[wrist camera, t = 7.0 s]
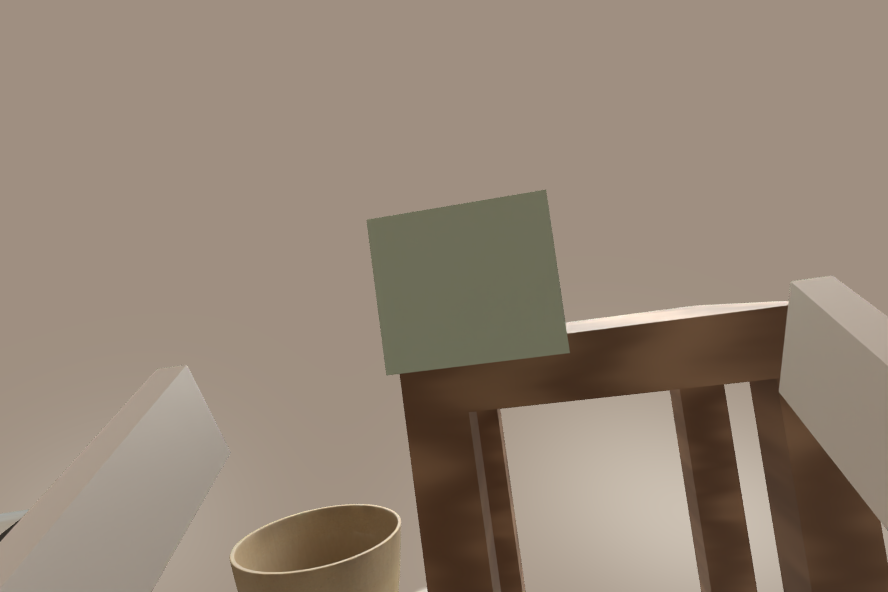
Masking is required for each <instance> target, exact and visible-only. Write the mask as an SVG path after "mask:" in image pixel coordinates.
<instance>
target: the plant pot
mask: <svg viewBox="0 0 888 592" xmlns="http://www.w3.org/2000/svg"><path fill="white" fill-rule="evenodd" d="M400 547H401V519H400V516H399V515H398V514H397V513H396V512H394V511H392V510H391V509H388V508H385V507H382V506H376V505H368V504H347V505H336V506H329V507H323V508H318V509H313V510H309V511H305V512H301V513H298V514H295V515H291V516H288V517H285V518H283V519H280V520H277V521H275V522H272V523H270V524H267V525H265V526H263V527H261V528H259V529H257V530H255V531H253V532H252V533H250V534H249V535H247V536H246V537H244V538H243V539H242V540H241V541H239V542H238V543H237V544H236V545H235V547H234V548H233V549H232V551H231V553H230V557H229V558H230V563H231V567H232V571H233V575H234V579H235V582H236V586H237V590H238V592H398V590H399V576H400Z"/></svg>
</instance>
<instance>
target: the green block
mask: <svg viewBox="0 0 888 592" xmlns="http://www.w3.org/2000/svg"><path fill="white" fill-rule="evenodd" d="M367 227H368V235H369V243H370V251H371V258H372V266H373V274H374V282H375V290H376V297H377V305H378V313H379V321H380V328H381V336H382V344H383V352H384V360H385V368H386V375H393V374H402V373H410V372H418V371H426V370H435V369H443V368H451V367H459V366H467V365H475V364H484V363H492V362H500V361H508V360H516V359H524V358H533V357H541V356H549V355H557V354H565V353H570V350H569V344H568V337H567V330H566V323H565V317H564V310H563V303H562V296H561V289H560V282H559V275H558V269H557V262H556V255H555V248H554V241H553V234H552V228H551V221H550V214H549V207H548V200H547V193H546V190H541V191H535V192H530V193H524V194H518V195H512V196H506V197H500V198H494V199H488V200H482V201H476V202H471V203H464V204H458V205H453V206H446V207H441V208H435V209H429V210H423V211H417V212H411V213H405V214H399V215H393V216H387V217H382V218H375V219H369V220H367Z"/></svg>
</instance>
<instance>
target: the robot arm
mask: <svg viewBox="0 0 888 592" xmlns="http://www.w3.org/2000/svg"><path fill="white" fill-rule="evenodd" d="M779 393H780V394H781V395H782V397H783V398H784V399H785V400H786V402H787V403H788V404H789V405H790V407H791V408H792V409H793V411H794V412H795V413H796V414H797V416H798V417H799V418H800V419H801V421H802V422H803V423H804V425H805V426H806V427H807V428H808V430H809V431H810V432H811V434H812V435H813V436H814V437H815V439H816V440H817V441H818V442H819V444H820V445H821V446H822V448H823V449H824V450H825V451H826V453H827V454H828V455H829V456H830V458H831V459H832V460H833V462H834V463H835V464H836V465H837V467H838V468H839V469H840V471H841V472H842V473H843V474H844V476H845V477H846V478H847V479H848V481H849V482H850V483H851V485H852V486H853V487H854V488H855V490H856V491H857V492H858V493H859V495H860V496H861V497H862V499H863V500H864V501H865V502H866V504H867V505H868V506H869V507H870V509H871V510H872V511H873V513H874V514H875V515H876V516H877V518H878V519H879V520H880V522H881V523H882V524H883V525H884V527H885V528H886V529H887V530H888V317H887V316H886V315H885V314H883V313H882V312H881V311H879V310H878V309H877V308H875V307H874V306H873V305H871V304H870V303H869V302H867V301H866V300H865V299H863V298H862V297H861V296H859V295H858V294H857V293H855V292H854V291H853V290H851V289H850V288H849V287H847V286H846V285H845V284H843V283H842V282H841V281H839V280H838V279H837V278H835V277H834V276H826V277H819V278H811V279H804V280H797V281H791V284H790V293H789V302H788V311H787V320H786V329H785V339H784V348H783V357H782V366H781V375H780V384H779ZM230 453H231V452H230V450H229V448H228V446H227V444H226V442H225V440H224V438H223V436H222V434H221V432H220V430H219V428H218V426H217V424H216V422H215V420H214V418H213V416H212V414H211V412H210V410H209V408H208V406H207V404H206V402H205V400H204V398H203V396H202V394H201V392H200V390H199V388H198V386H197V384H196V382H195V380H194V378H193V376H192V374H191V372H190V370H189V368H188V366H187V365H181V366H173V367H166V368H159V369H156V371H155V372H154V373H153V374H152V375H151V376H150V377H149V378H148V379H147V381H146V382H145V383H144V384H143V385H142V386H141V387H140V388H139V389H138V390H137V392H136V393H135V394H134V395H133V396H132V397H131V398H130V399H129V400H128V402H127V403H126V404H125V405H124V406H123V407H122V408H121V409H120V410H119V412H117V414H116V415H115V416H114V417H113V418H112V419H111V420H110V421H109V422H108V424H107V425H106V426H105V427H104V428H103V429H102V430H101V431H100V433H98V435H97V436H96V437H95V438H94V439H93V440H92V441H91V442H90V443H89V444H88V446H87V447H86V448H85V449H84V450H83V451H82V452H81V453H80V454H79V455H78V457H77V458H76V459H75V460H74V461H73V462H72V463H71V464H70V465H69V467H68V468H67V469H66V470H65V471H64V472H63V473H62V474H61V475H60V477H59V478H58V479H57V480H56V481H55V482H54V483H53V484H52V485H51V486H50V487H49V489H48V490H47V491H46V492H45V493H44V494H43V495H42V496H41V498H40V499H39V500H38V501H37V502H36V503H35V504H34V505H33V506H32V507H31V508H30V510H29V511H28V512H27V513H26V514H25V515H24V516H23V517H22V518H21V519H20V520H19V521H17V522H16V523H15V524H13V525H12V526H11V527H10V528H8V529H7V530H6V531H5V532H3V533H2V534H1V535H0V592H152V590H153V589H154V587H155V585H156V583H157V582H158V580H159V578H160V577H161V575H162V573H163V571H164V569H165V568H166V566H167V564H168V562H169V561H170V559H171V557H172V555H173V553H174V552H175V550H176V548H177V547H178V545H179V543H180V541H181V540H182V538H183V536H184V534H185V532H186V531H187V529H188V527H189V525H190V523H191V522H192V520H193V518H194V517H195V515H196V513H197V511H198V510H199V508H200V506H201V504H202V502H203V501H204V499H205V497H206V495H207V494H208V492H209V490H210V488H211V487H212V485H213V483H214V481H215V479H216V478H217V476H218V474H219V472H220V471H221V469H222V467H223V465H224V464H225V462H226V460H227V458H228V457H229V455H230Z"/></svg>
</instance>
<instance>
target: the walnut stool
mask: <svg viewBox="0 0 888 592" xmlns="http://www.w3.org/2000/svg"><path fill="white" fill-rule="evenodd" d="M788 302H789V301H780V302H779V301H778V302H757V303H736V304H716V305H697V306H690V307H682V308H674V309H666V310H659V311H651V312H644V313H636V314H628V315H620V316H613V317H605V318H597V319H590V320H582V321H575V322H567V323H566V330H567V337H568V344H569V350H570V353H565V354H557V355H549V356H541V357H533V358H524V359H516V360H508V361H500V362H492V363H484V364H475V365H467V366H459V367H451V368H443V369H435V370H426V371H418V372H410V373H402V374H400V380H401V387H402V395H403V403H404V411H405V419H406V426H407V434H408V442H409V450H410V457H411V465H412V472H413V481H414V488H415V496H416V503H417V512H418V519H419V526H420V534H421V543H422V549H423V558H424V566H425V573H426V581H427V589H428V592H525V584H524V577H523V571H522V563H521V556H520V549H519V542H518V534H517V527H516V520H515V513H514V505H513V499H512V491H511V484H510V476H509V470H508V462H507V455H506V449H505V440H504V433H503V426H502V419H501V412H500V409H502V408H511V407H519V406H530V405H539V404H548V403H557V402H566V401H575V400H585V399H593V398H602V397H612V396H621V395H630V394H639V393H648V392H657V391H666V390H670V394H671V401H672V407H673V413H674V420H675V426H676V433H677V439H678V446H679V452H680V458H681V464H682V471H683V477H684V484H685V490H686V497H687V503H688V510H689V516H690V522H691V529H692V535H693V542H694V548H695V555H696V561H697V567H698V574H699V580H700V587H701V592H757V587H756V581H755V575H754V569H753V563H752V556H751V550H750V544H749V538H748V531H747V525H746V519H745V513H744V507H743V500H742V494H741V488H740V482H739V476H738V469H737V463H736V457H735V451H734V444H733V439H732V432H731V426H730V420H729V413H728V407H727V401H726V395H725V389H724V384H730V383H740V382H750V388H751V393H752V400H753V406H754V412H755V418H756V424H757V430H758V436H759V442H760V448H761V455H762V461H763V467H764V473H765V479H766V485H767V491H768V497H769V503H770V509H771V515H772V522H773V528H774V534H775V540H776V546H777V552H778V558H779V564H780V570H781V576H782V583H783V589H784V592H888V562H887V556H886V550H885V545H884V539H883V533H882V528H881V522H880V520H879V519H878V518H877V516H876V515H875V514H874V513H873V511H872V510H871V509H870V507H869V506H868V505H867V504H866V502H865V501H864V500H863V499H862V497H861V496H860V495H859V493H858V492H857V491H856V490H855V488H854V487H853V486H852V485H851V483H850V482H849V481H848V479H847V478H846V477H845V476H844V474H843V473H842V472H841V471H840V469H839V468H838V467H837V465H836V464H835V463H834V462H833V460H832V459H831V458H830V456H829V455H828V454H827V453H826V451H825V450H824V449H823V448H822V446H821V445H820V444H819V442H818V441H817V440H816V439H815V437H814V436H813V435H812V434H811V432H810V431H809V430H808V428H807V427H806V426H805V425H804V423H803V422H802V421H801V419H800V418H799V417H798V416H797V414H796V413H795V412H794V411H793V409H792V408H791V407H790V405H789V404H788V403H787V402H786V400H785V399H784V398H783V397H782V395H781V394H780V393H779V384H780V375H781V366H782V357H783V348H784V339H785V329H786V320H787V311H788Z"/></svg>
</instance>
